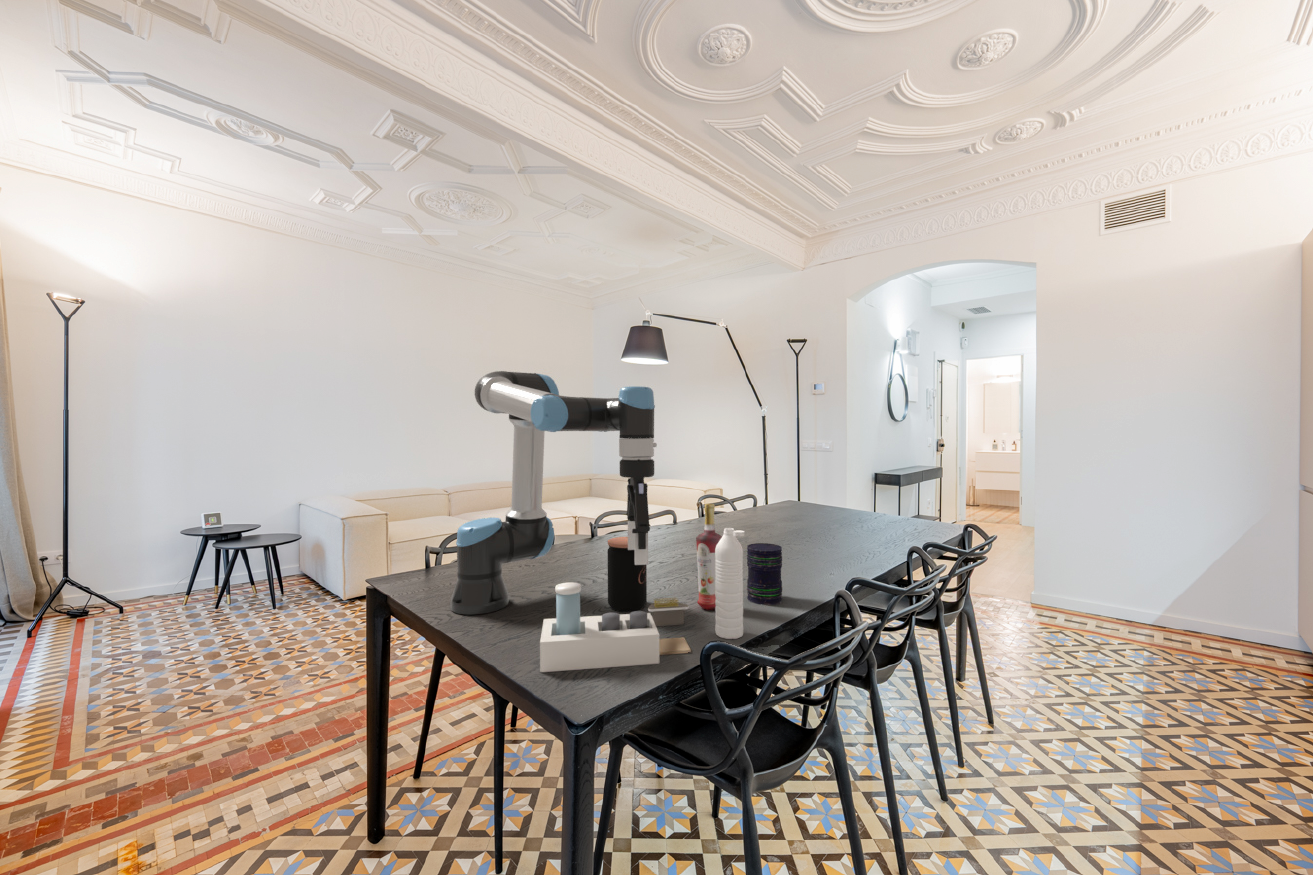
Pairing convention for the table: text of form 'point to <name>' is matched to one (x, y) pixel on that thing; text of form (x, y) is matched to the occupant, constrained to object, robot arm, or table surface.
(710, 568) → the liquor
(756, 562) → the storage jar
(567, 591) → the cartridge
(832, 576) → the table surface
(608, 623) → the button
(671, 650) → the coaster
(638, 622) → the button
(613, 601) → the coffee jar
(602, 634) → the housing
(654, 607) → the platform
